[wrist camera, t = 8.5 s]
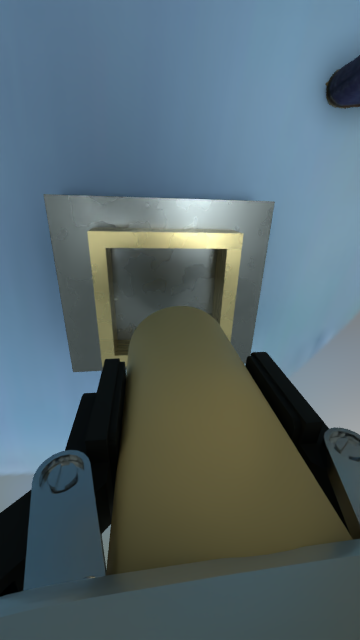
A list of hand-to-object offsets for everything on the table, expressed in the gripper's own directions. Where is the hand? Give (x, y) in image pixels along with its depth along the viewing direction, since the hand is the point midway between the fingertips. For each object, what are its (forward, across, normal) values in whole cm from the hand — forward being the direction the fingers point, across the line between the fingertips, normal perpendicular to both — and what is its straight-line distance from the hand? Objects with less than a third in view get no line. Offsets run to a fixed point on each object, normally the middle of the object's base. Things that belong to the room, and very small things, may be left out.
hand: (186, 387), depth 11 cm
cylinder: (+3, 0, 0) cm, 3 cm away
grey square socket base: (+16, 0, 0) cm, 16 cm away
